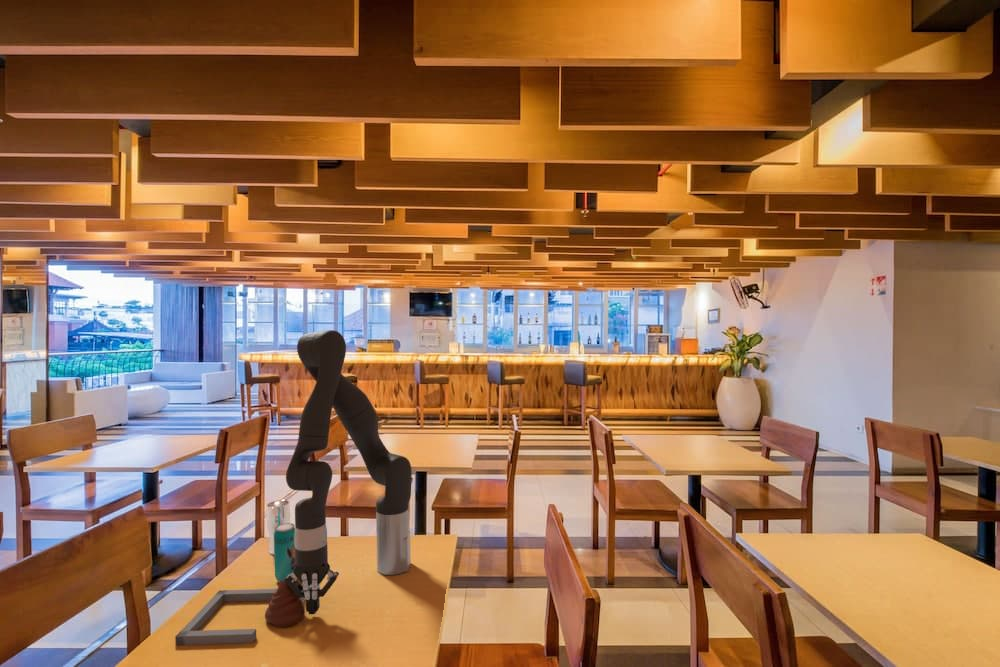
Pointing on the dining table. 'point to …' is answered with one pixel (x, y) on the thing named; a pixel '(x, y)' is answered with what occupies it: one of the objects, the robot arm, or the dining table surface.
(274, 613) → the poop emoji
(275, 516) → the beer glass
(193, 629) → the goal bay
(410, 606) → the dining table surface
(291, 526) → the beverage can
